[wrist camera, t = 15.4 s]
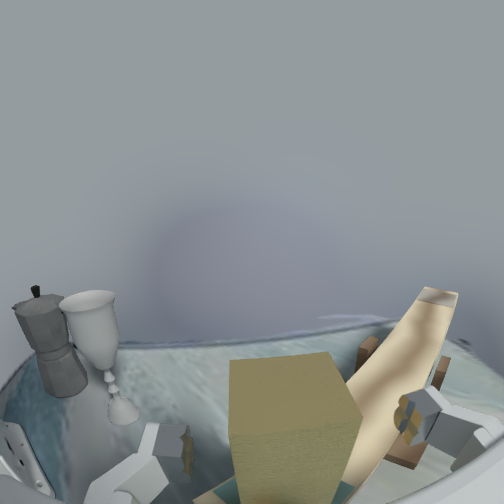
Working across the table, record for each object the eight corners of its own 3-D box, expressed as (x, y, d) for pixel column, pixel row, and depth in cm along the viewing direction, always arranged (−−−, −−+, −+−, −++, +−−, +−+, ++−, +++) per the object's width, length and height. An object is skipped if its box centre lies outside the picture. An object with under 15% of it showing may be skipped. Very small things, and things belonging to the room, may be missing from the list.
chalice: (101, 432, 27) (54, 315, 23) (99, 402, 33) (63, 294, 29) (151, 424, 30) (115, 305, 26) (143, 395, 36) (115, 286, 32)
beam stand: (318, 429, 30) (329, 356, 27) (356, 390, 36) (369, 321, 34) (413, 469, 20) (454, 396, 17) (438, 418, 26) (467, 346, 24)
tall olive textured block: (245, 527, 9) (228, 434, 7) (243, 474, 14) (229, 359, 12) (323, 518, 10) (363, 417, 7) (310, 467, 14) (328, 351, 12)
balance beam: (196, 508, 12) (191, 499, 11) (423, 294, 44) (425, 286, 44) (274, 571, 7) (274, 567, 6) (456, 301, 40) (458, 292, 39)
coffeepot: (29, 394, 31) (-9, 296, 27) (48, 366, 40) (21, 278, 36) (102, 404, 33) (66, 295, 29) (115, 370, 42) (91, 274, 38)
